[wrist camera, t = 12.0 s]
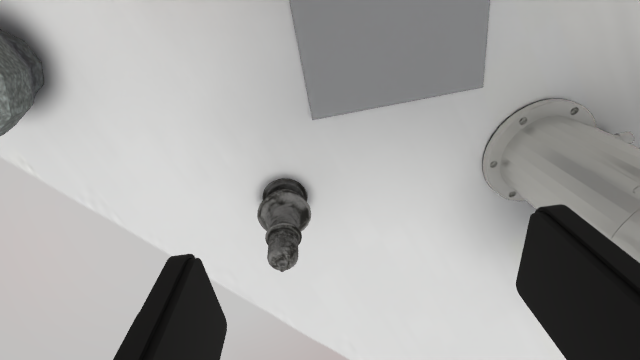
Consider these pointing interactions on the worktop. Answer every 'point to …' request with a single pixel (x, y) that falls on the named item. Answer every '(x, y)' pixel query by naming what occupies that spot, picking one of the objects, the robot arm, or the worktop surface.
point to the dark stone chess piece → (284, 221)
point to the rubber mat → (388, 51)
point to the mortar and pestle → (17, 80)
